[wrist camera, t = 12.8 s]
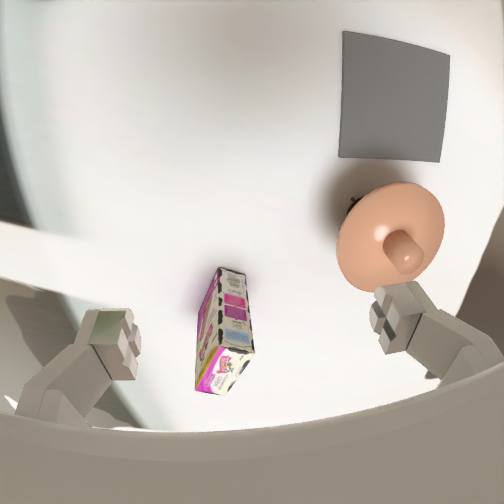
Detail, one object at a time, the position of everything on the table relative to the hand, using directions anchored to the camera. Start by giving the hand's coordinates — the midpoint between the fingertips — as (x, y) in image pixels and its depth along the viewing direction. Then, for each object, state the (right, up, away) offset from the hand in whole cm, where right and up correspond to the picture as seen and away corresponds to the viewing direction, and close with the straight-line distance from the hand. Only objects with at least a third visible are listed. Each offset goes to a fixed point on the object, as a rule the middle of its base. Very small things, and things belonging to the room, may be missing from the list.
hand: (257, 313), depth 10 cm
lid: (+18, +4, +28) cm, 34 cm away
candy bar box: (-6, -5, +43) cm, 44 cm away
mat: (+21, +24, +28) cm, 42 cm away
